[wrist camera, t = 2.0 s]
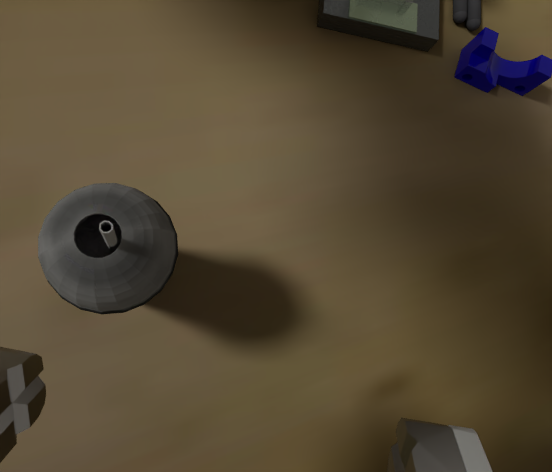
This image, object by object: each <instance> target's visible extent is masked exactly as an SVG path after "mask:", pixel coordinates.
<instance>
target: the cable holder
mask: <svg viewBox="0 0 552 472" xmlns="http://www.w3.org/2000/svg"><path fill="white" fill-rule="evenodd" d="M498 34H499V33H497V32H495V31H493V30H490V29H488V28H486V27H485V28H484V29H483V30H482V31H481V32H480V33H479V34H478V35H477V36H476V37H475V38H474V39H473V40H471V41H470V42H469V43H468V44H467V45H466V46H465V47H464V48H463V49H462V50H461V54H460V58H459V61H458V65H457V69H456V72H455V76H454V77H455V78H457V79H459V80H461V81H463V82H465V83H467V84H469V85H472V86H474V87H476V88H478V89H480V90H482V91H484V92H487V93H488V92H489V91H490V90H492V89H493V88H494V87H496V84H498V85H500V86H502V87H504V88H506V89H508V90H510V91H512V92H515V93H517V94H519V95H521V96H523V95H525V94H526V93H528V92H529V91H531V90H532V89H534V88H535V87H537V86H538V85H540V84H542V83H543V82H545V81H546V80H548V79H549V78H551V75H552V59H550V58H548V57H546V56H544V55H540V56H539V57H537V58H535V59H532V60H528V61H523V62H514V61H508V60H505V59H503V58H501V57H499V56H498V55H497V54H496V53H495V52H494V50H495V46H496V42H497V38H498Z"/></svg>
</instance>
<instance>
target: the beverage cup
mask: <svg viewBox="0 0 552 472" xmlns="http://www.w3.org/2000/svg"><path fill="white" fill-rule="evenodd" d="M177 256H178V244H177V233H176V231H175V228H174V226H173V223H172V221H171V218H170V216H169V215H168V214H167V213H166V212H165V210H164V209H163V208H162V207H161V206H160V204H159V203H158V202H157V201H155V200H154V199H152V198H151V197H149V196H147V195H146V194H144V193H143V192H141V191H139V190H137V189H135V188H131V187H128V186H124V185H120V184H117V183H100V184H92V185H89V186H86V187H83V188H80V189H77V190H74V191H73V192H71V193H70V194H68V195H67V196H66V197H64V198H63V199H61V200H60V201H58V202H57V204H56V205H55V206H54V207H53V209H52V210H51V211H50V212H49V214H48V215H47V216H46V218H45V220H44V223H43V226H42V228H41V231H40V234H39V237H38V258H39V260H40V263H41V266H42V269H43V271H44V274H45V277H46V279H47V280H48V282H49V284H50V285H51V286H52V287H53V288H54V290H55V291H56V292H57V293H58V294H59V295H60V297H61V298H62V299H64V300H66V301H67V302H69V303H71V304H72V305H74V306H76V307H77V308H79V309H81V310H85V311H90V312H94V313H99V314H111V313H123V312H126V311H129V310H131V309H134V308H136V307H139V306H141V305H144V304H145V303H147V302H148V301H149V300H150V299H152V298H153V297H154V296H155V295H157V294H158V293H159V292H160V291H161V290H162V289H163V287H164V286H165V284H166V283H167V281H168V280H169V278H170V277H171V275H172V274H173V271H174V267H175V263H176V260H177Z"/></svg>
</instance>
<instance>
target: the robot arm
mask: <svg viewBox="0 0 552 472" xmlns="http://www.w3.org/2000/svg"><path fill="white" fill-rule="evenodd" d="M43 369H44V368H43V362H42V357H41V356H39V355H37V354H34V353H29V352H24V351H19V350H14V349H9V348H4V347H0V463H1V461H2V460H3V459H4V458H5V457H6V456H7V454H8V453H9V452H10V451H11V450H12V448H13V447H14V446H15V445H16V444H17V434H18V433H20V432H22V431H24V430H26V429H28V428H30V427H31V426H32V424H33V423H34V422H35V421H36V419H37V418H38V417H39V415H40V413H41V410H42V408H43V406H44V404H45V397H46V387H45V384H44V383H43V381H42V380H41V379H40V378H39V376H38V375H39V374H40V373H41V372H42V370H43ZM396 436H397V442H398V443H396V444H395V445H393V446H392V447H391V450H390V454H389V458H388V468H387V472H493V471H492V469H491V466H490V464H489V461H488V459H487V457H486V454H485V452H484V449H483V447H482V444H481V442H480V439H479V437H478V435H477V433H476V432H475V431H474V430H473V429H471V428H465V427H458V426H452V425H448V426H447V425H443V424H437V423H431V422H425V421H419V420H413V419H407V418H401V419H400V421H399V422H398V425H397V429H396Z"/></svg>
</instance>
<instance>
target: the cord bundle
mask: <svg viewBox="0 0 552 472" xmlns="http://www.w3.org/2000/svg"><path fill="white" fill-rule="evenodd" d="M453 20H454V21H455V22H456V23H462V22H464V21H465V20H466V26H467V28H468V29H469V30H471V31H474V30H476V29H478V28H479V26H480V24H481V0H453Z"/></svg>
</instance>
